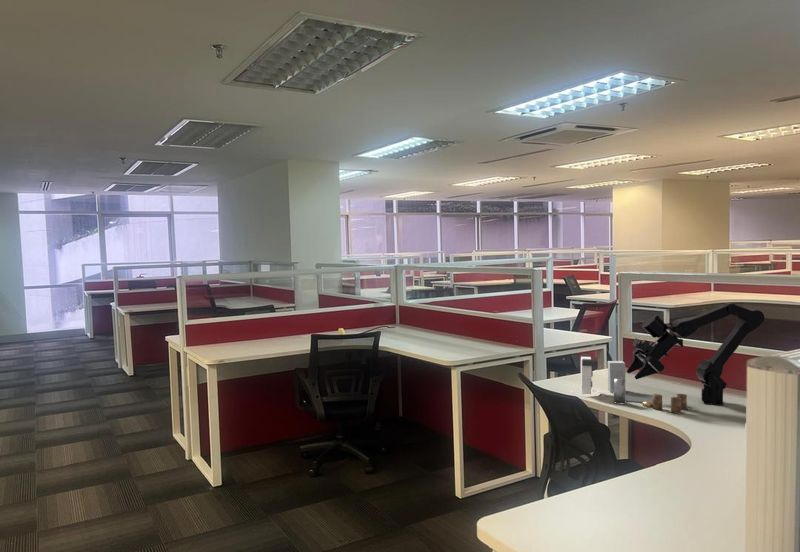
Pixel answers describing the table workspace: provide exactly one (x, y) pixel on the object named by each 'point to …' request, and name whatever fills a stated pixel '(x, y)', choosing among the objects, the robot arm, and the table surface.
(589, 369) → the narrow upright pillar
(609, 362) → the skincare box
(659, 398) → the spacer
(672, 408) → the spacer
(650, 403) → the nut
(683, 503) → the table surface
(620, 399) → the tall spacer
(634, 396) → the mat
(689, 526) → the table surface
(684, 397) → the spacer
